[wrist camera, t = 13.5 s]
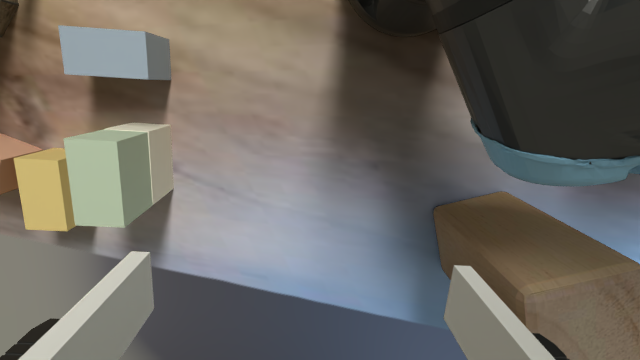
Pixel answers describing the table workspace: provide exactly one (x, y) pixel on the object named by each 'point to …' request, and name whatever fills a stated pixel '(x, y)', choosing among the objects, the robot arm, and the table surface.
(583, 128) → the robot arm
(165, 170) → the cream brick
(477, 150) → the table surface
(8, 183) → the terracotta brick
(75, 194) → the sage brick
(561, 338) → the wooden block
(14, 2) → the mug
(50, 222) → the ochre brick
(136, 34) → the slate brick
